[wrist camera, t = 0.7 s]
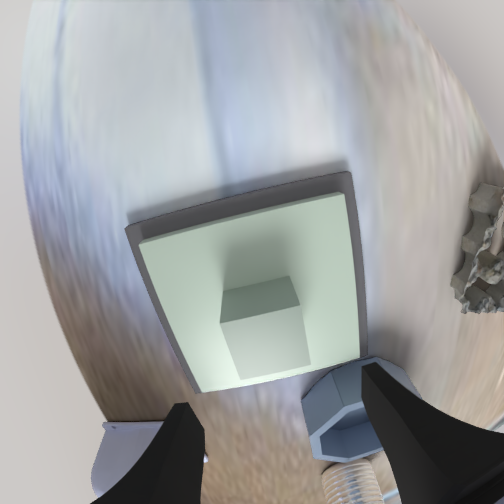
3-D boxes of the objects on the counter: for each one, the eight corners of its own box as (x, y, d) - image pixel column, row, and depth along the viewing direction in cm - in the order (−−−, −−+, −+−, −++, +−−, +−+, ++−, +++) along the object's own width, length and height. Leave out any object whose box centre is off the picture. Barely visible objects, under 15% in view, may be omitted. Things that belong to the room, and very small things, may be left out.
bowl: (308, 436, 26) (315, 470, 21) (295, 376, 22) (305, 417, 18) (395, 409, 25) (410, 439, 21) (403, 343, 22) (427, 375, 18)
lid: (203, 383, 21) (197, 427, 17) (143, 239, 17) (116, 267, 13) (355, 349, 21) (376, 389, 16) (338, 191, 17) (369, 206, 12)
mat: (196, 386, 22) (195, 393, 21) (128, 225, 18) (124, 228, 17) (364, 349, 22) (367, 355, 21) (346, 171, 17) (350, 172, 16)
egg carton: (469, 173, 17) (505, 180, 14) (515, 193, 18) (546, 202, 14) (438, 298, 21) (465, 322, 17) (487, 299, 21) (512, 318, 18)
